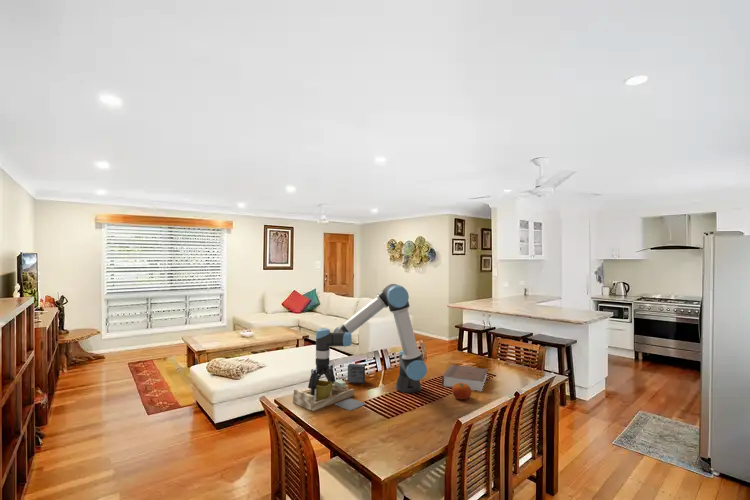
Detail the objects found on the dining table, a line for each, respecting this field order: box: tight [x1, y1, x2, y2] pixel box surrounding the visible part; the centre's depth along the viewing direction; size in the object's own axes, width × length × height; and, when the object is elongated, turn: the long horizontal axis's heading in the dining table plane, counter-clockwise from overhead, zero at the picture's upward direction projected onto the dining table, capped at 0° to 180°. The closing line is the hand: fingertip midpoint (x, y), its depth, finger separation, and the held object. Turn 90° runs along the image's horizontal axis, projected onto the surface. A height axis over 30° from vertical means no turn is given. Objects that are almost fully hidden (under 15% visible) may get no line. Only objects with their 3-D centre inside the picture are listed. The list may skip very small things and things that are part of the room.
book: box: [441, 364, 488, 392], centre depth 243 cm, size 24×28×6 cm
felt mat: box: [333, 397, 367, 412], centre depth 202 cm, size 12×12×1 cm
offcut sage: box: [334, 379, 347, 387], centre depth 217 cm, size 7×4×2 cm, turn 45°
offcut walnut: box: [331, 389, 349, 395], centre depth 217 cm, size 12×4×3 cm, turn 53°
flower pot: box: [313, 379, 332, 402], centre depth 208 cm, size 9×9×9 cm
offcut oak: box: [332, 384, 349, 392], centre depth 217 cm, size 10×4×2 cm, turn 61°
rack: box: [292, 388, 355, 412], centre depth 209 cm, size 16×30×7 cm, turn 139°
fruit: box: [451, 383, 472, 400], centre depth 214 cm, size 11×10×8 cm
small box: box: [346, 363, 366, 385], centre depth 239 cm, size 11×6×10 cm, turn 84°
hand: (321, 398), depth 208 cm, fingers closed on flower pot, 10 cm apart
